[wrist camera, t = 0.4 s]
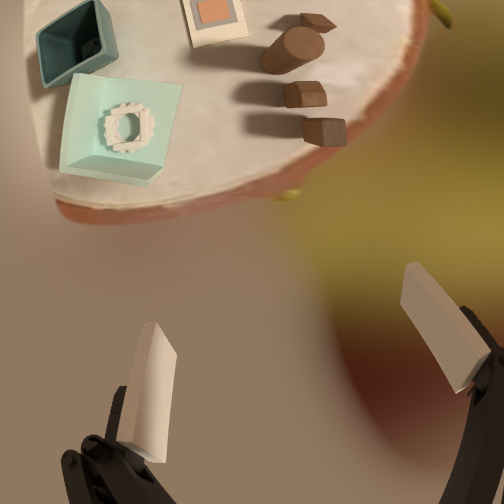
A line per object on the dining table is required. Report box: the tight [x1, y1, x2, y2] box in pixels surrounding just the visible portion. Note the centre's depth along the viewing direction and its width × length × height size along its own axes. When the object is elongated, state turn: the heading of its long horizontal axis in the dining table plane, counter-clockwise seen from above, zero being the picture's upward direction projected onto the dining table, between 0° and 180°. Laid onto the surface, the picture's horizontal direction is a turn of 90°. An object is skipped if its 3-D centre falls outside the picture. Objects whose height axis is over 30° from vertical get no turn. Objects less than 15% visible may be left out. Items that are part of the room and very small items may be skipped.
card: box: [183, 0, 249, 48], centre depth 23 cm, size 10×7×1 cm
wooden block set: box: [261, 13, 347, 147], centre depth 24 cm, size 18×9×10 cm, turn 7°
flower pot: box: [36, 0, 119, 89], centre depth 20 cm, size 9×9×9 cm
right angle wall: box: [59, 73, 183, 188], centre depth 27 cm, size 12×12×8 cm
